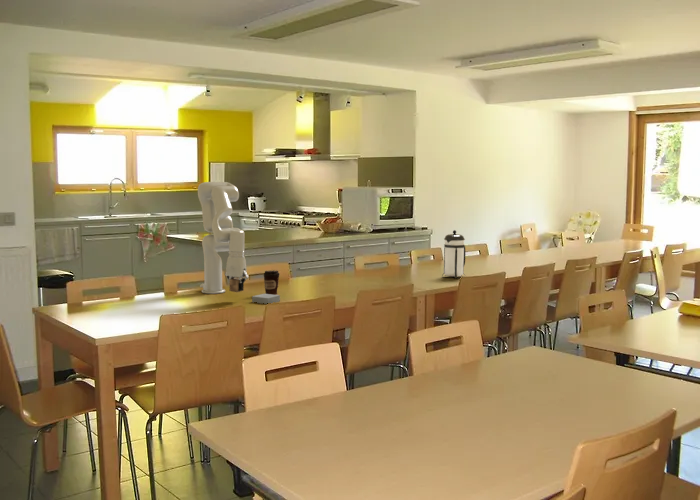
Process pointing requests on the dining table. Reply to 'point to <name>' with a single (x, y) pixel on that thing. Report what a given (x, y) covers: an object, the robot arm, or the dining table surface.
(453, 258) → the coffee press
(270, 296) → the plinth
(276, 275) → the coffee cup
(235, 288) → the walnut block
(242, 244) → the robot arm
